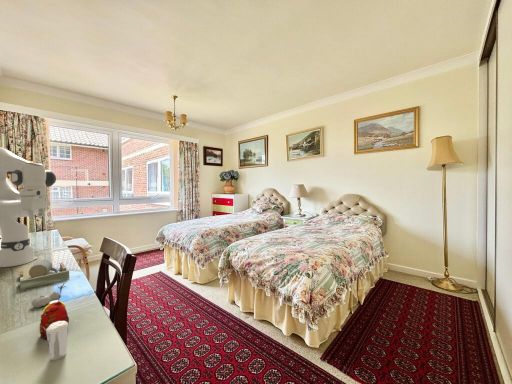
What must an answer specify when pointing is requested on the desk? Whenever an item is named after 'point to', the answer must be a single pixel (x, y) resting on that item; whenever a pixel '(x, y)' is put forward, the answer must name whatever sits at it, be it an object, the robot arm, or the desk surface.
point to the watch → (51, 303)
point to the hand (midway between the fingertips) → (36, 217)
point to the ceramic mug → (41, 269)
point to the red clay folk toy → (53, 315)
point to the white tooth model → (57, 339)
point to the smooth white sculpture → (44, 299)
